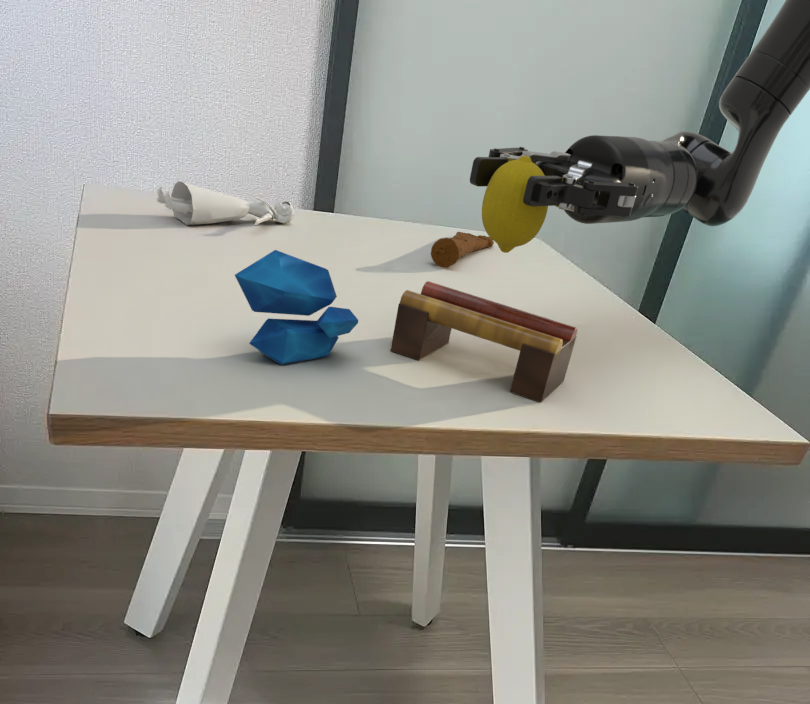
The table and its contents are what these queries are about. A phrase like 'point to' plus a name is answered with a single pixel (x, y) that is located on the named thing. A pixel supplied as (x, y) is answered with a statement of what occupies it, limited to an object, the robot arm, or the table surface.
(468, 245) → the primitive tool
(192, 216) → the woman figurine
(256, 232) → the table surface
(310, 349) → the blue crystals
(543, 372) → the rod rack
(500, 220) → the lemon
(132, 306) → the table surface
